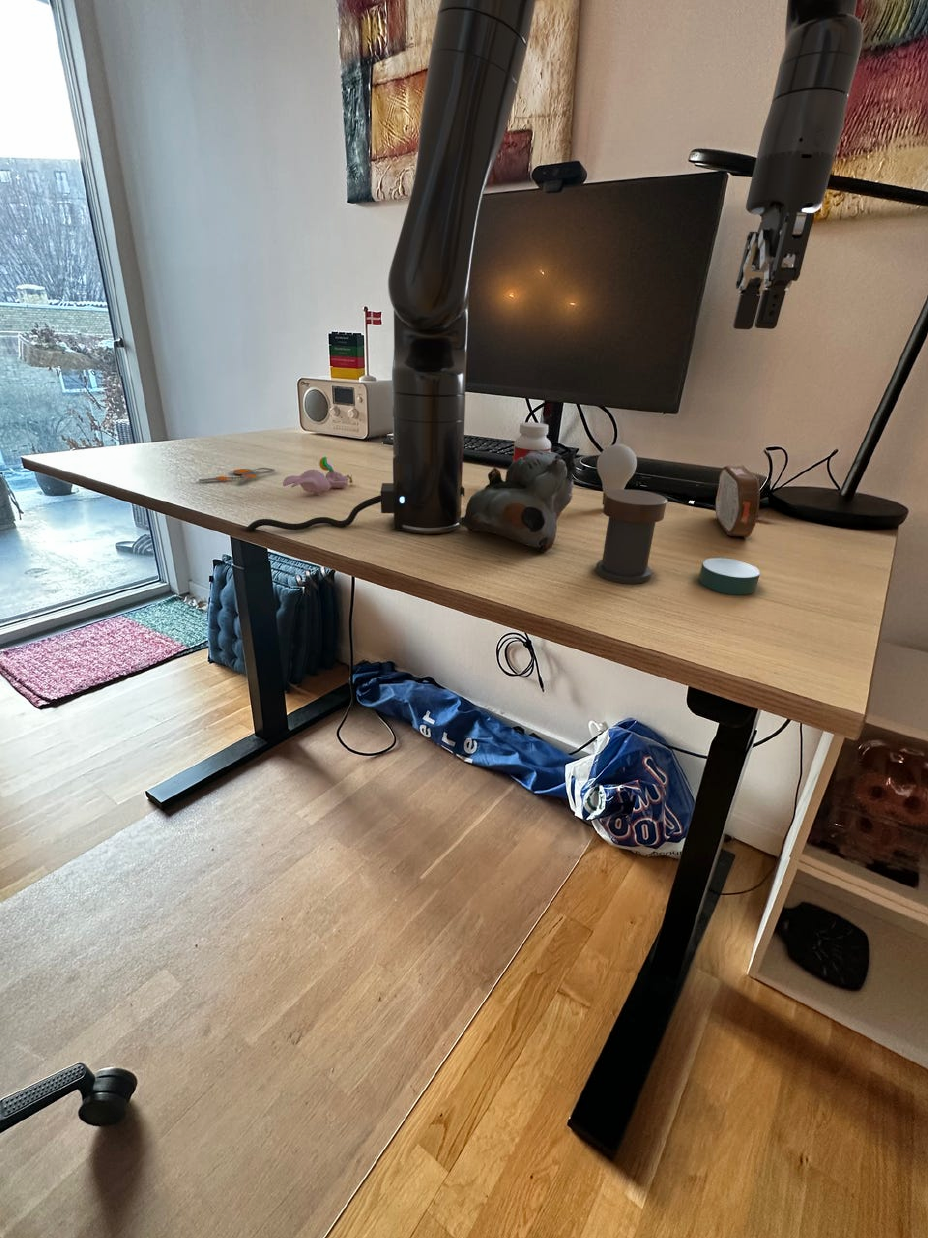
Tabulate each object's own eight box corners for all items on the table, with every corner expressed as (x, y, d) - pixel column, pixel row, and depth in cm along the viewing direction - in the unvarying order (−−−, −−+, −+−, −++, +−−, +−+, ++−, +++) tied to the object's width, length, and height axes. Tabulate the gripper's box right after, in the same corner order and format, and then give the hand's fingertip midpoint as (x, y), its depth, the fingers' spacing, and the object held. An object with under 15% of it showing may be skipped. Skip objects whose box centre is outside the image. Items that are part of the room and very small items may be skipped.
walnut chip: (613, 523, 61) (616, 504, 60) (595, 506, 66) (598, 488, 65) (673, 523, 61) (677, 505, 60) (650, 506, 67) (653, 489, 66)
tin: (752, 545, 78) (768, 482, 74) (727, 542, 79) (742, 480, 75) (729, 514, 91) (742, 460, 88) (708, 513, 92) (720, 458, 88)
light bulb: (587, 511, 90) (596, 445, 86) (594, 502, 95) (603, 439, 91) (626, 516, 88) (637, 449, 84) (631, 507, 93) (642, 443, 89)
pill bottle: (507, 486, 103) (511, 421, 98) (540, 486, 104) (546, 421, 99) (515, 495, 97) (521, 426, 92) (550, 495, 98) (558, 427, 93)
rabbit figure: (330, 490, 101) (270, 494, 88) (331, 454, 99) (270, 453, 86) (360, 495, 99) (304, 500, 86) (362, 458, 97) (305, 458, 84)
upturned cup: (604, 584, 64) (614, 522, 61) (589, 563, 69) (597, 506, 66) (659, 584, 64) (671, 523, 61) (639, 564, 70) (649, 507, 67)
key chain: (249, 468, 108) (249, 463, 107) (281, 472, 105) (280, 468, 105) (195, 481, 97) (194, 476, 97) (229, 487, 95) (228, 482, 94)
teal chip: (713, 594, 62) (717, 577, 61) (689, 573, 68) (693, 557, 67) (766, 594, 63) (771, 577, 62) (738, 573, 68) (742, 557, 67)
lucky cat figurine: (452, 523, 81) (494, 430, 80) (528, 559, 83) (571, 468, 82) (464, 524, 66) (515, 410, 65) (556, 567, 68) (608, 457, 67)
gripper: (738, 172, 68) (705, 327, 75) (781, 135, 55) (737, 326, 62) (805, 174, 67) (765, 331, 74) (865, 137, 54) (810, 330, 62)
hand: (752, 328), depth 68 cm, fingers open, 8 cm apart
